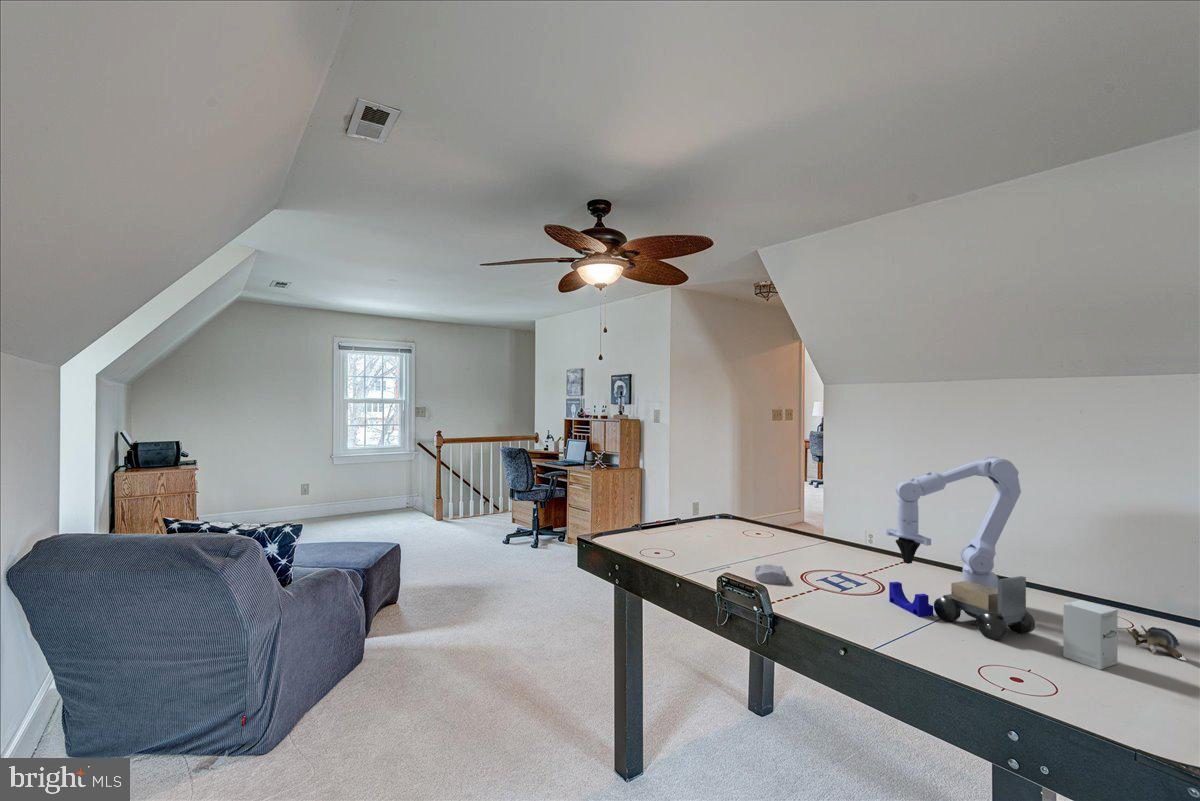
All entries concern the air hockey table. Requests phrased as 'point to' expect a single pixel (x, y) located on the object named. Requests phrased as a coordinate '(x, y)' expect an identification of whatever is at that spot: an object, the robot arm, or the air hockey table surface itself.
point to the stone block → (770, 574)
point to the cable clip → (918, 606)
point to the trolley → (989, 606)
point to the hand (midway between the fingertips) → (907, 562)
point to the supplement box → (1090, 634)
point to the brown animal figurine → (1157, 639)
